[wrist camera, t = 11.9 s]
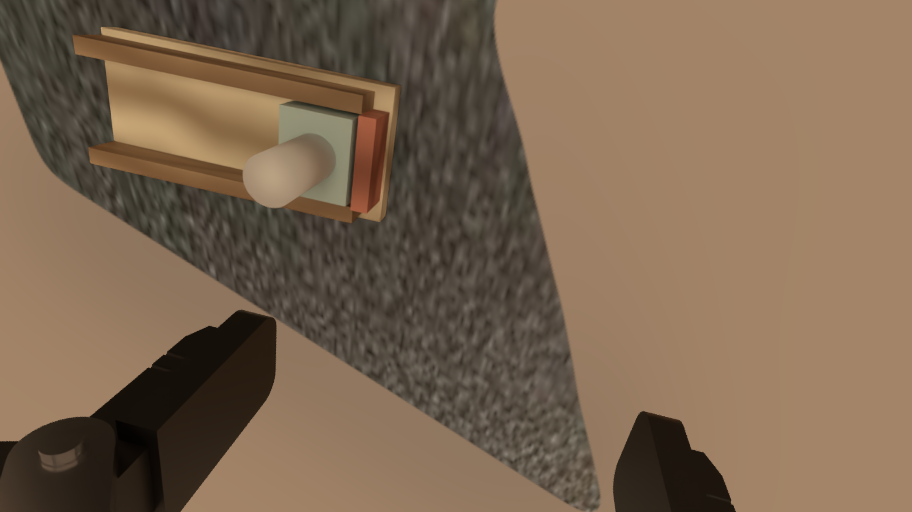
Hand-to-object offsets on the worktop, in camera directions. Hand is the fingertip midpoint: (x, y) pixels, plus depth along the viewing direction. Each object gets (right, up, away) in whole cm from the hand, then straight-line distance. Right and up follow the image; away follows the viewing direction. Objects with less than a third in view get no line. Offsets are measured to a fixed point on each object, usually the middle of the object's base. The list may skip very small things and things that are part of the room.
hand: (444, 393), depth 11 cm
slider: (-9, +11, +26) cm, 30 cm away
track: (-15, +13, +28) cm, 35 cm away
